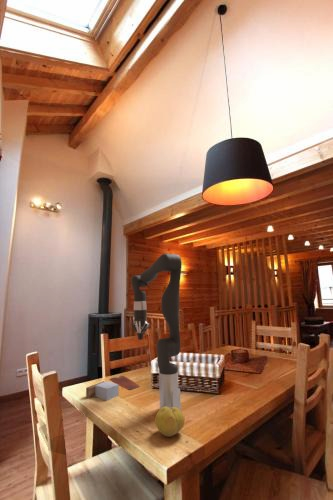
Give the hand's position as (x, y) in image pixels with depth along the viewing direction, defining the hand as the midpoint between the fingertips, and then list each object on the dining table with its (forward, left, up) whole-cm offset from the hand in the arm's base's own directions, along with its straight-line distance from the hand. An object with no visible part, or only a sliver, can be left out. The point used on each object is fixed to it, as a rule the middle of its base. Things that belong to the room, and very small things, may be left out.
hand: (140, 339), depth 149 cm
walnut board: (+20, +15, -29) cm, 38 cm away
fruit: (-39, +25, -29) cm, 55 cm away
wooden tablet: (+20, -7, -30) cm, 37 cm away
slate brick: (+13, +13, -29) cm, 35 cm away
